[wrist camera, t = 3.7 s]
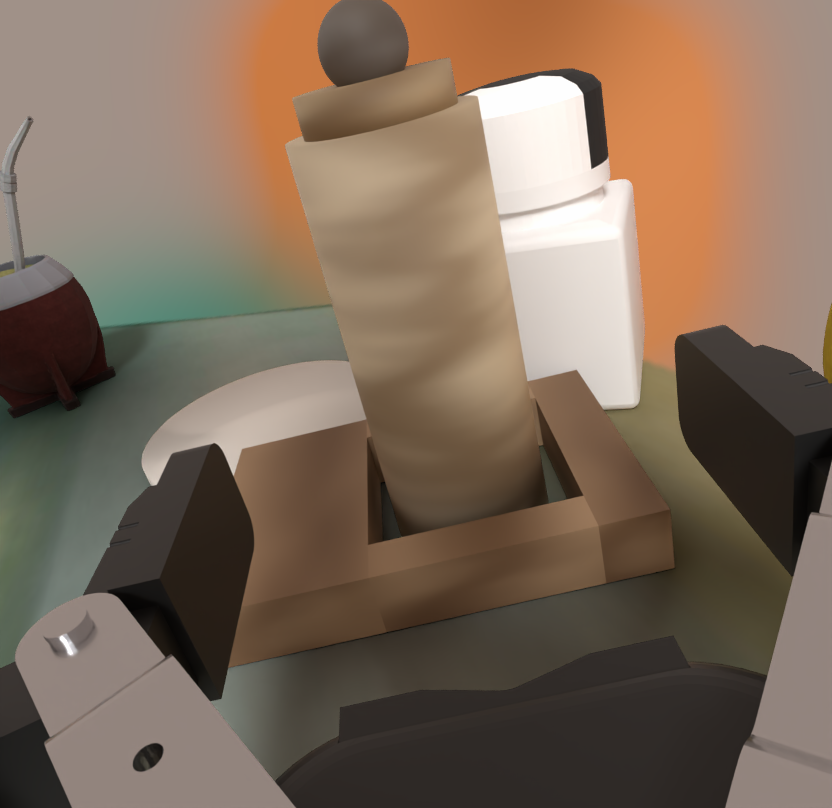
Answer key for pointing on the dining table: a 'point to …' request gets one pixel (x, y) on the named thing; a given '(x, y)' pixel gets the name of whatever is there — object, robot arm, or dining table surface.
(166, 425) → the saucer
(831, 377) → the lemon
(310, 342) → the dining table surface
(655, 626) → the dining table surface
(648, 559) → the frame
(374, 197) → the pepper mill
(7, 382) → the mate gourd
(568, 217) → the medicine bottle
